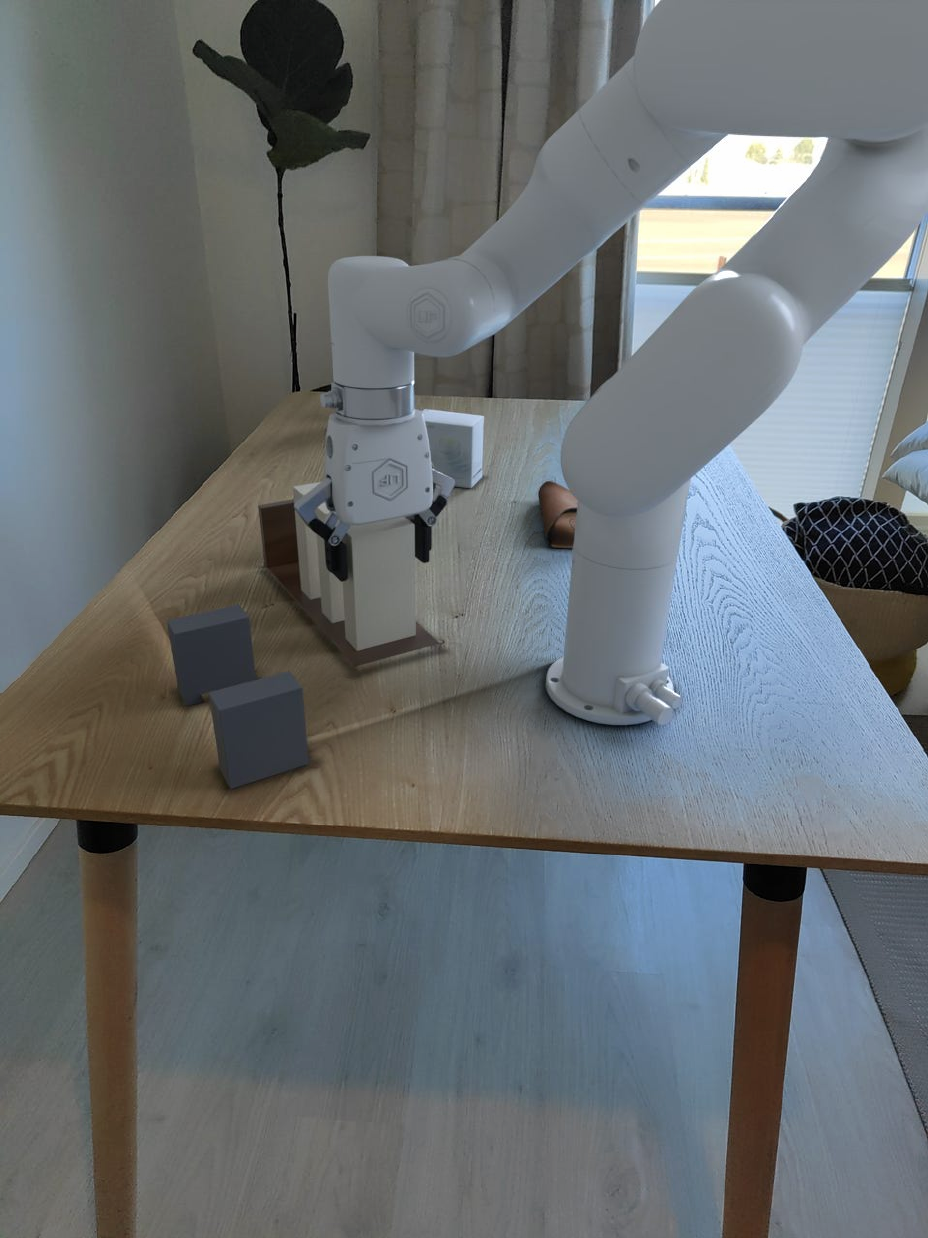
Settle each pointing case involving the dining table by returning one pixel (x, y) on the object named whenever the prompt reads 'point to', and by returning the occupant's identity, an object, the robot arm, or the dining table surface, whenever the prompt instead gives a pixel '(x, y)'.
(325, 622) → the book rack
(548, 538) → the sunglasses case
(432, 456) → the cosmetics box
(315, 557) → the cream book
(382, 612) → the cream book
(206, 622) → the grey book
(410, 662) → the dining table surface
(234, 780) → the grey book
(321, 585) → the cream book
